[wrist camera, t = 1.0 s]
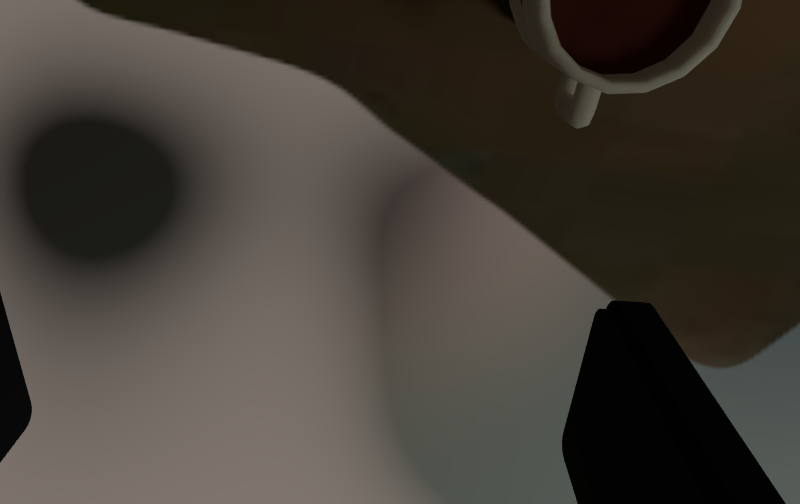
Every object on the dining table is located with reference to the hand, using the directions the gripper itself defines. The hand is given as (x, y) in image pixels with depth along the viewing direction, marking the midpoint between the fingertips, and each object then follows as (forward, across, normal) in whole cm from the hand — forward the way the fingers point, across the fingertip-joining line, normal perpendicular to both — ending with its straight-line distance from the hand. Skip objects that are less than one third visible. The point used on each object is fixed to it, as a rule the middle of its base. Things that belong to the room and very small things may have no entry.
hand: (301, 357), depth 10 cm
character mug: (+27, -9, -5) cm, 29 cm away
